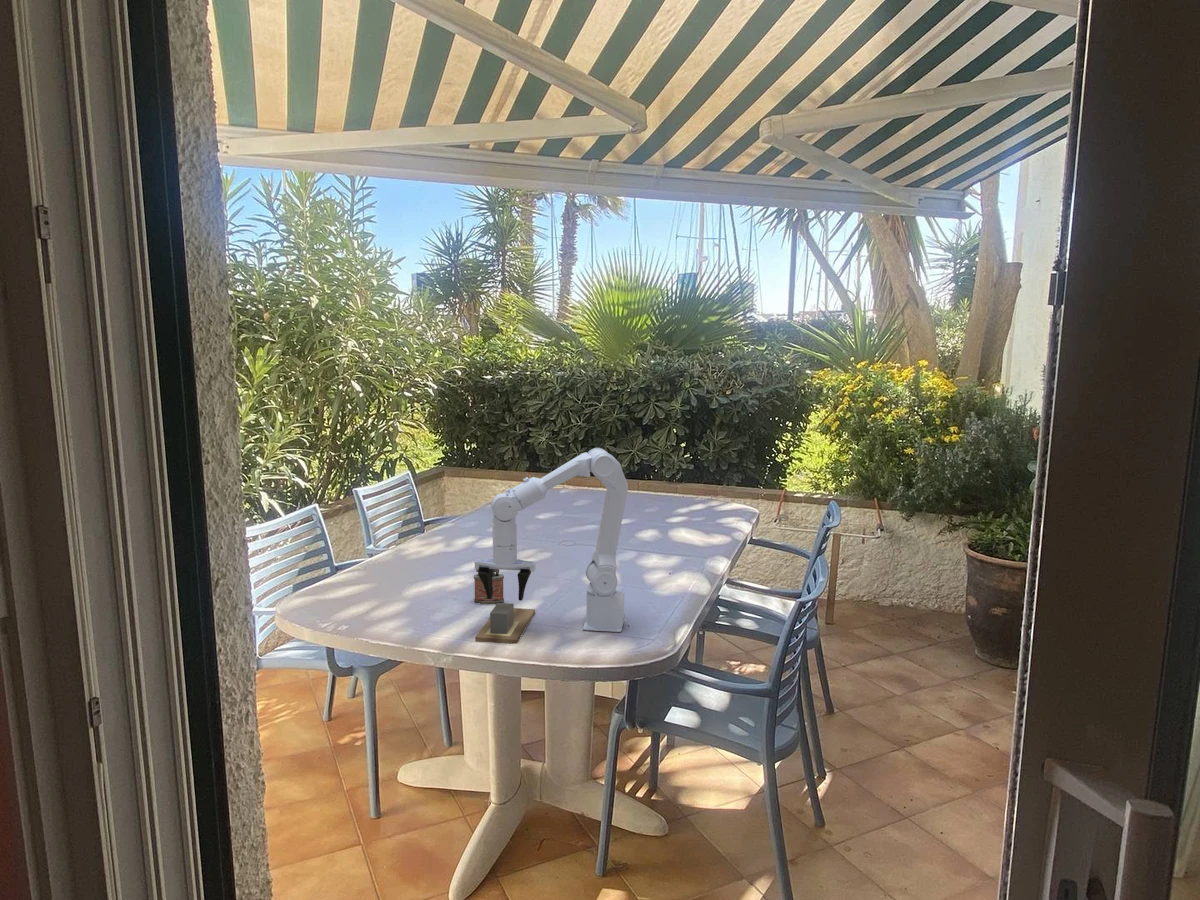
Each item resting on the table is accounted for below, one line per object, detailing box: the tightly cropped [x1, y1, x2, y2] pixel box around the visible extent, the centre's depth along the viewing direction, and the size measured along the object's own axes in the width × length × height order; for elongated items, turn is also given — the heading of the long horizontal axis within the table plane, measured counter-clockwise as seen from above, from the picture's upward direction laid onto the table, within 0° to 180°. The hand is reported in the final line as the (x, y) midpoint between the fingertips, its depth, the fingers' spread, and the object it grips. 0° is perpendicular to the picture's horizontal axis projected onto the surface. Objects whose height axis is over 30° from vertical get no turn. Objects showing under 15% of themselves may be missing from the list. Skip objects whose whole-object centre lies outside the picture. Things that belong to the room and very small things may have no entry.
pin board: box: [474, 607, 536, 644], centre depth 180 cm, size 10×20×3 cm, turn 173°
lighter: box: [473, 569, 505, 605], centre depth 196 cm, size 8×3×10 cm, turn 92°
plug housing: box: [489, 602, 515, 634], centre depth 175 cm, size 4×7×5 cm, turn 174°
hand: (505, 598), depth 175 cm, fingers open, 7 cm apart
